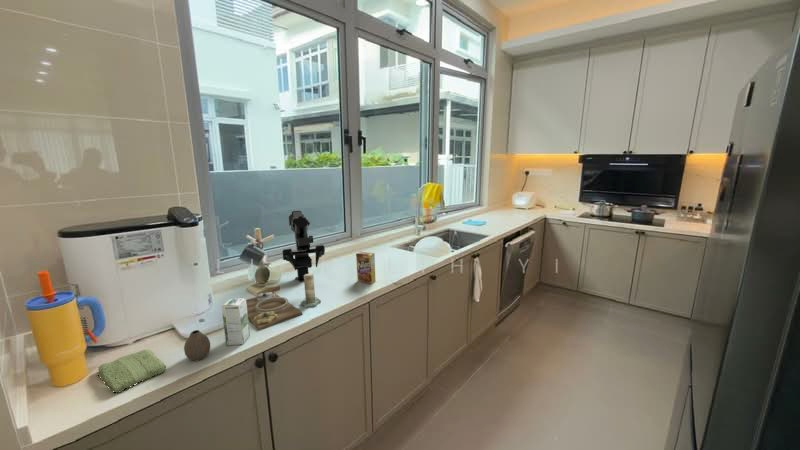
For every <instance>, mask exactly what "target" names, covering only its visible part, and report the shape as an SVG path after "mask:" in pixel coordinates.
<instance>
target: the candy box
mask: <svg viewBox="0 0 800 450" xmlns="http://www.w3.org/2000/svg"><path fill="white" fill-rule="evenodd" d="M375 255H376V254H375V252H366V251H360V250H359V251H358V252H356V253H355V256H356V257H355V258H356V261H355V262H356V276H357V282H362V283H367V284H373V283H375V282H376V259H375V258H376V257H375Z"/></svg>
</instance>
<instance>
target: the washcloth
mask: <svg viewBox="0 0 800 450" xmlns="http://www.w3.org/2000/svg"><path fill="white" fill-rule="evenodd" d="M165 368H166V369H167V365H165V363H164V362H163V361H161V360H160V358H159V357H157V356H156V355H155V354H154V353H153V351H152V350H151V349H147V348H146V349H142V350H139V351H137V352H133V353H130V354H126V355H123V356H120V357H118V358H117V359H114V360H113V361H109V362H105V363H101V364H100V365H99V366H98V371H97V373H96V374H98V375H99V376H100V377H101V379H102V380H103V381H104V382H105V384H104V385H105V386H106V385H107V386H108V387H109V388H108V387H107V386H106V387H107V388H108V390H110V391H111V390H112V391H111V392H113V391H114V392H119V391H121V390H123V391H124V389H125V388H127V389H129V388H131V387H130V386H132V385H134V384H136V383H138V382H139V383H141V382H140V381H142V380H144V381H146V380H148V379H147V378H150V377H152V376H154V375H156V376H158V375H157V374H159V373H162V372H163V373H164V372H166V369H165ZM163 373H162V374H163ZM98 375H97V376H98ZM159 375H160V374H159ZM99 376H98V377H99ZM100 377H99V378H100ZM154 377H155V376H154ZM152 378H153V377H152ZM101 379H100V380H101ZM145 379H146V380H145ZM150 379H151V378H150ZM102 380H101V381H102ZM103 381H102V382H103ZM142 382H143V381H142ZM139 383H138V384H139ZM134 386H135V385H134ZM128 387H129V388H128ZM132 387H133V386H132ZM125 390H126V389H125ZM121 392H122V391H121ZM119 393H120V392H119Z"/></svg>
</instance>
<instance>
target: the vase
mask: <svg viewBox="0 0 800 450" xmlns="http://www.w3.org/2000/svg"><path fill="white" fill-rule="evenodd" d="M183 351H184V355H185V357H186V358H187V359H188V360H189V361H192V360H193V361H192V362H196V360H198V361H200V359H201V360H203V359H205V358H206V357H207V355H209V353H210V351H211V341H210V338H209V337H208V336H207V335H206V334H204V333H203V332H201V330H199V329H195V330H192V331H191V332H190V334H189V336H188V337H187V339H186V340H185V343H184V345H183ZM204 357H205V358H204Z"/></svg>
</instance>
